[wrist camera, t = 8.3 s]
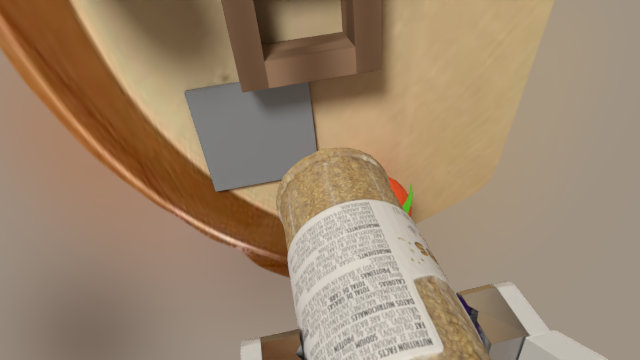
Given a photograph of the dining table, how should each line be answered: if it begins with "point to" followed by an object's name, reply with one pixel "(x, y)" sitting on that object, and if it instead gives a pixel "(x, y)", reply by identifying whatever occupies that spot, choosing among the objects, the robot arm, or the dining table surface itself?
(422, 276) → the spice jar
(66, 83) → the dining table surface
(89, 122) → the dining table surface
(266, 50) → the walnut collar
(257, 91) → the grey mat
